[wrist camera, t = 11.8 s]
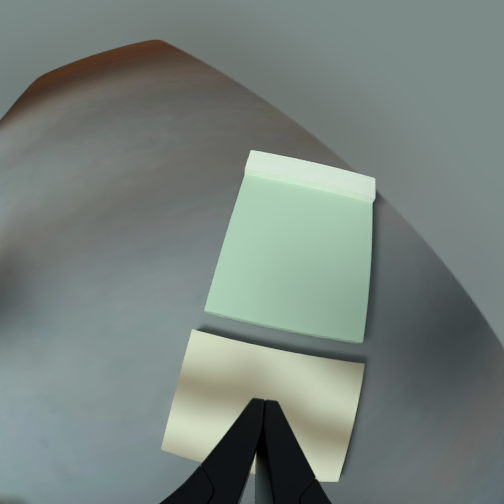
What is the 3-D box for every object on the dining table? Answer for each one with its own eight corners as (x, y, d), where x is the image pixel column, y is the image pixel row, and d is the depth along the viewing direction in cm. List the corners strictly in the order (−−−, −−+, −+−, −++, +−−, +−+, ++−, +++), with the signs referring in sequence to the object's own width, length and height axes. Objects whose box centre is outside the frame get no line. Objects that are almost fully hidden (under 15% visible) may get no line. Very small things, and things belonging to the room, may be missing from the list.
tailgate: (366, 341, 19) (374, 178, 25) (202, 307, 20) (250, 150, 26) (358, 344, 20) (368, 189, 26) (206, 313, 21) (250, 162, 27)
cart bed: (334, 478, 16) (337, 481, 15) (163, 447, 17) (161, 449, 16) (360, 364, 20) (364, 363, 19) (194, 331, 21) (192, 329, 20)
